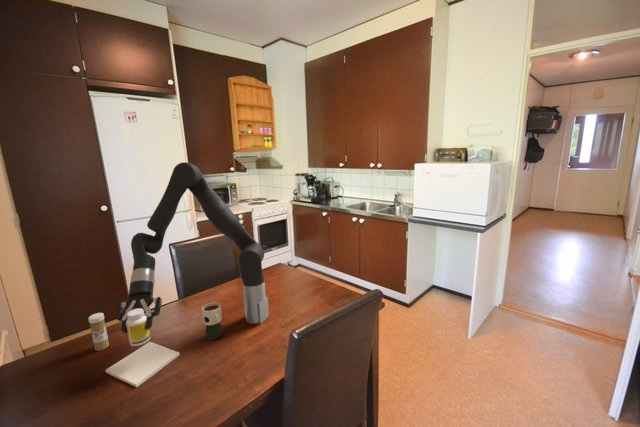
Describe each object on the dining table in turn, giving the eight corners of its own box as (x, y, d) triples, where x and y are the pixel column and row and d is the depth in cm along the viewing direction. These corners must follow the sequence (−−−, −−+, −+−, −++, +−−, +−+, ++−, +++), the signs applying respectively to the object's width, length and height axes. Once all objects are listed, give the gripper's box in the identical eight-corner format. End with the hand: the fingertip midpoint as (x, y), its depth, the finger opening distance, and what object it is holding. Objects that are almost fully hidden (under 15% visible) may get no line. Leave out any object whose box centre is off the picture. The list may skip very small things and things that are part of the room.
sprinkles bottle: (93, 352, 107) (86, 320, 104) (96, 345, 111) (90, 314, 108) (108, 349, 109) (101, 317, 106) (110, 342, 113) (104, 311, 110)
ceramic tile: (179, 355, 105) (179, 352, 104) (136, 387, 90) (136, 384, 90) (150, 343, 111) (149, 341, 111) (105, 372, 97) (105, 370, 97)
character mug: (200, 333, 117) (196, 304, 114) (217, 326, 122) (214, 298, 119) (211, 346, 109) (207, 315, 106) (228, 338, 114) (226, 308, 111)
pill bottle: (154, 337, 101) (150, 308, 99) (138, 348, 95) (133, 318, 93) (141, 333, 103) (137, 305, 101) (125, 344, 97) (119, 315, 95)
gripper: (115, 282, 100) (106, 332, 91) (161, 276, 104) (157, 324, 95) (123, 289, 106) (116, 337, 98) (166, 284, 110) (163, 329, 101)
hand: (136, 330), depth 96 cm, fingers closed on pill bottle, 6 cm apart
